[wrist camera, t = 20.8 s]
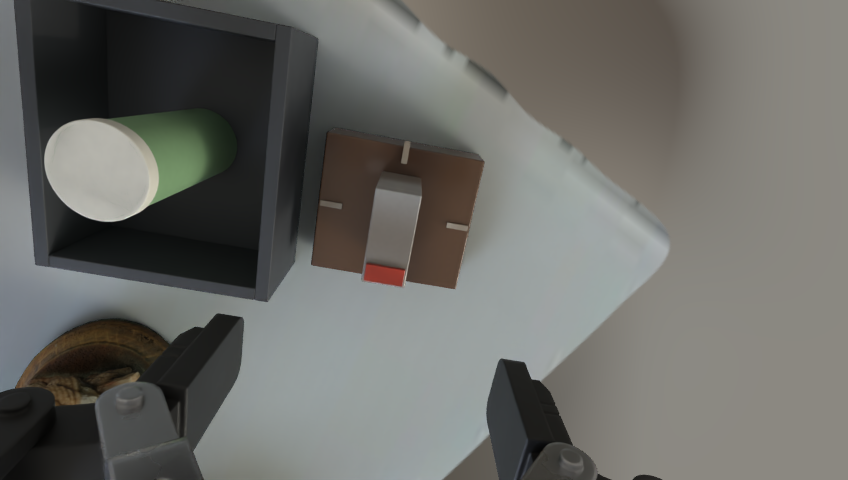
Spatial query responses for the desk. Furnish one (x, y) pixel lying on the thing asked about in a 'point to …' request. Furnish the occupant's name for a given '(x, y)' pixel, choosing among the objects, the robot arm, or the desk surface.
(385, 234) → the tap knob
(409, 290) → the desk surface
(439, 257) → the panel
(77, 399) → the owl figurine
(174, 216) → the gray open box
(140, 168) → the green tube
